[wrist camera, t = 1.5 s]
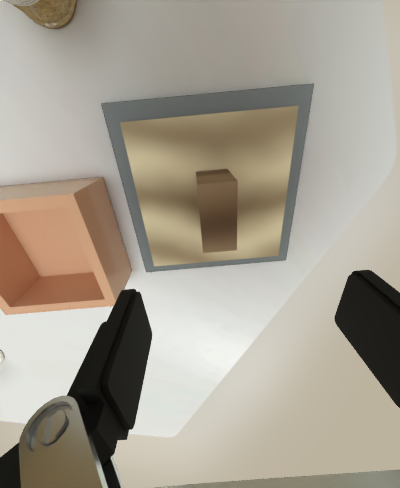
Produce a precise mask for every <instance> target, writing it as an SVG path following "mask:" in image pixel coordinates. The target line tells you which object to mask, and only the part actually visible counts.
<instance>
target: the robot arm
mask: <svg viewBox="0 0 400 488" xmlns="http://www.w3.org/2000/svg"><path fill="white" fill-rule="evenodd" d="M335 322H336V324H337V326H338V327H339V328H340V330H341V331H342V333H343V334H344V335H345V337H346V338H347V339H348V341H349V342H350V343H351V345H352V346H353V347H354V349H355V350H356V351H357V353H358V354H359V356H360V357H361V358H362V359H363V361H364V362H365V363H366V365H367V366H368V368H369V369H370V370H371V371H372V373H373V374H374V376H375V377H376V378H377V380H378V381H379V382H380V384H381V385H382V386H383V388H384V389H385V390H386V392H387V393H388V394H389V396H390V397H391V398H392V400H393V401H394V403H395V404H396V405H397V406H398V407H399V408H400V293H399V292H398V291H397V290H395V289H394V288H393V287H392V286H390V285H389V284H388V283H386V282H385V281H384V280H383V279H381V278H380V277H379V276H378V275H376V274H375V273H374V272H372V271H370V270H361V271H354V272H352V274H351V275H349V277H348V279H347V282H346V285H345V288H344V291H343V294H342V297H341V300H340V303H339V306H338V309H337V312H336V315H335ZM151 340H152V331H151V327H150V324H149V321H148V317H147V314H146V310H145V307H144V304H143V300H142V297H141V294H140V292H136V290H135V289H129V290H122V291H121V292H120V294H119V296H118V298H117V300H116V303H115V305H114V307H113V309H112V311H111V313H110V316H109V318H108V320H107V322H103V323H102V324H101V326H100V328H99V330H98V332H97V334H96V336H95V338H94V340H93V342H92V344H91V346H90V348H89V350H88V353H87V355H86V357H85V359H84V361H83V363H82V365H81V367H80V369H79V371H78V373H77V375H76V377H75V380H74V382H73V384H72V386H71V388H70V390H69V392H68V394H67V396H60V397H57V398H54V399H52V400H51V401H49V402H47V403H46V404H44V405H43V406H42V407H41V408H40V409H38V410H37V411H36V413H35V414H34V415H33V416H32V417H31V418H30V420H29V421H28V423H27V424H26V426H25V427H24V429H23V432H22V434H21V437H20V441H19V443H18V444H16V445H15V446H14V447H13V448H12V449H10V450H9V451H8V452H7V453H5V454H4V455H3V456H2V457H0V488H124V486H123V483H122V481H121V478H120V475H119V472H118V470H117V467H116V464H115V462H114V459H113V456H112V455H113V454H114V452H115V448H116V444H117V440H126V439H127V436H128V432H129V429H133V427H134V424H135V419H136V414H137V410H138V405H139V400H140V395H141V390H142V385H143V380H144V375H145V370H146V365H147V360H148V355H149V350H150V345H151ZM157 488H400V470H388V471H372V472H358V473H343V474H328V475H314V476H299V477H284V478H270V479H256V480H242V481H229V482H215V483H201V484H188V485H178V486H167V487H157Z"/></svg>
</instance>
